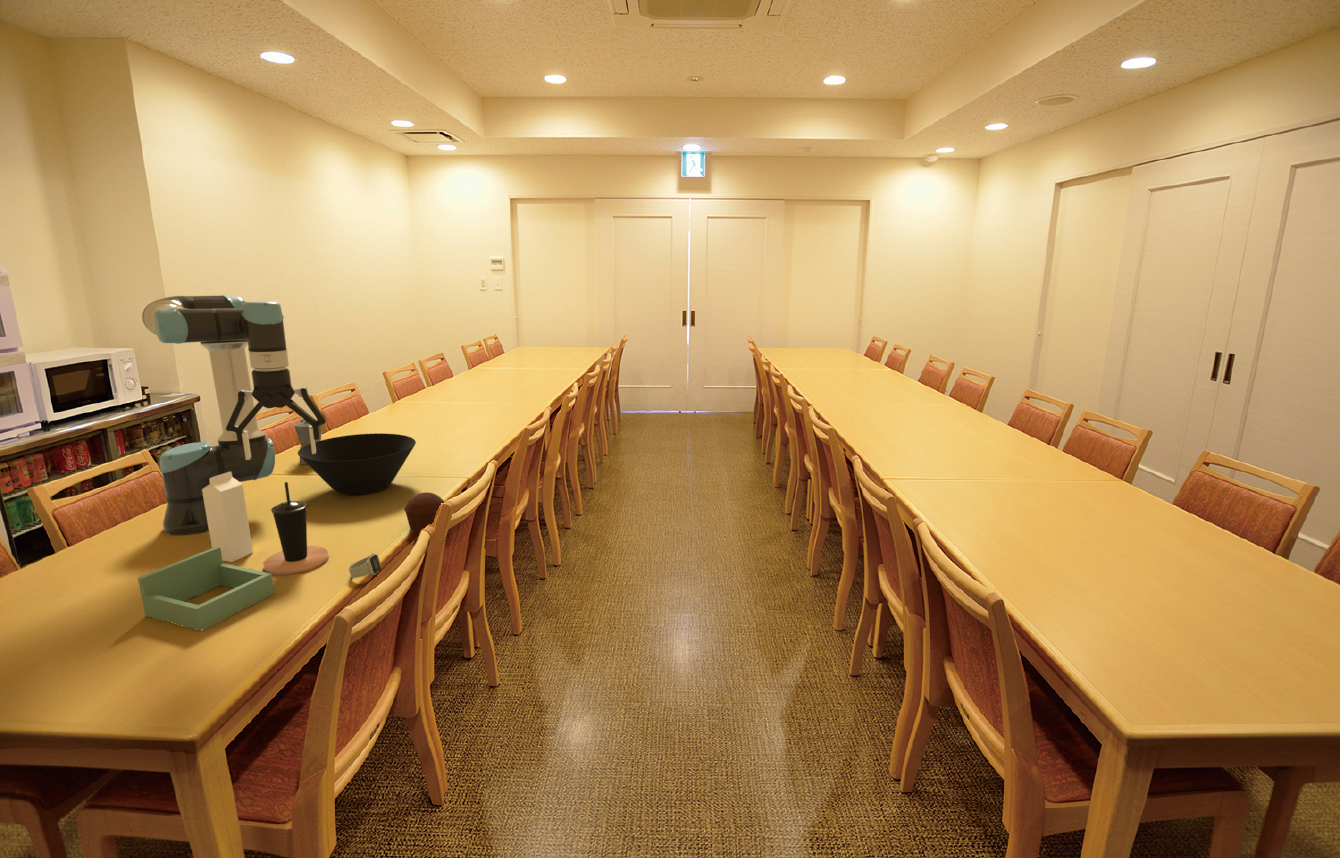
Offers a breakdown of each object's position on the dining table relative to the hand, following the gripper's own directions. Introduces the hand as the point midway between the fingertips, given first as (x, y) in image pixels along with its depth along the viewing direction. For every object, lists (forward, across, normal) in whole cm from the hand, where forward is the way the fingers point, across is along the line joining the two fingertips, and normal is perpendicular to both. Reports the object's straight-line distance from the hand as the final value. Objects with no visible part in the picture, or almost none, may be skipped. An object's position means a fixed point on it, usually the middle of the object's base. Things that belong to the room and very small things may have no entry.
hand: (282, 455), depth 149 cm
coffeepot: (+29, -2, +98) cm, 102 cm away
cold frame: (+28, -15, -17) cm, 36 cm away
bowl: (+29, +16, +54) cm, 64 cm away
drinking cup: (+27, 0, -1) cm, 27 cm away
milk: (+28, -15, +10) cm, 33 cm away
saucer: (+28, 0, -1) cm, 28 cm away
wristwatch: (+28, +16, -14) cm, 35 cm away
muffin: (+28, +32, +10) cm, 44 cm away
